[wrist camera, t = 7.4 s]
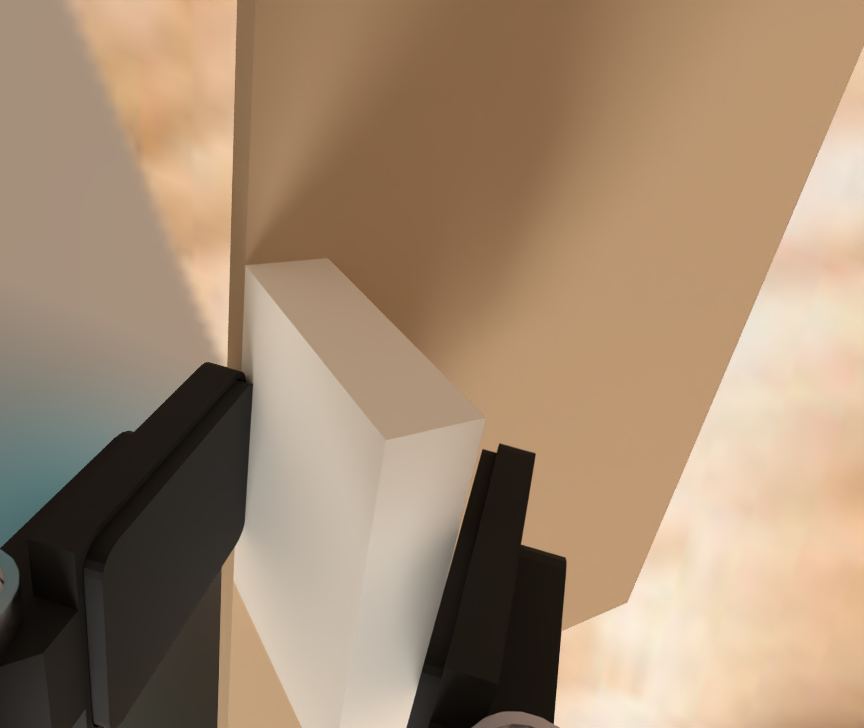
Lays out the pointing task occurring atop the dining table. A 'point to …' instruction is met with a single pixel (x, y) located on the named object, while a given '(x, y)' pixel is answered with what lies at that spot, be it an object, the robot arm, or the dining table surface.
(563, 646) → the dining table surface
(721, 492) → the dining table surface
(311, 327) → the lid
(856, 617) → the dining table surface
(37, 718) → the robot arm
